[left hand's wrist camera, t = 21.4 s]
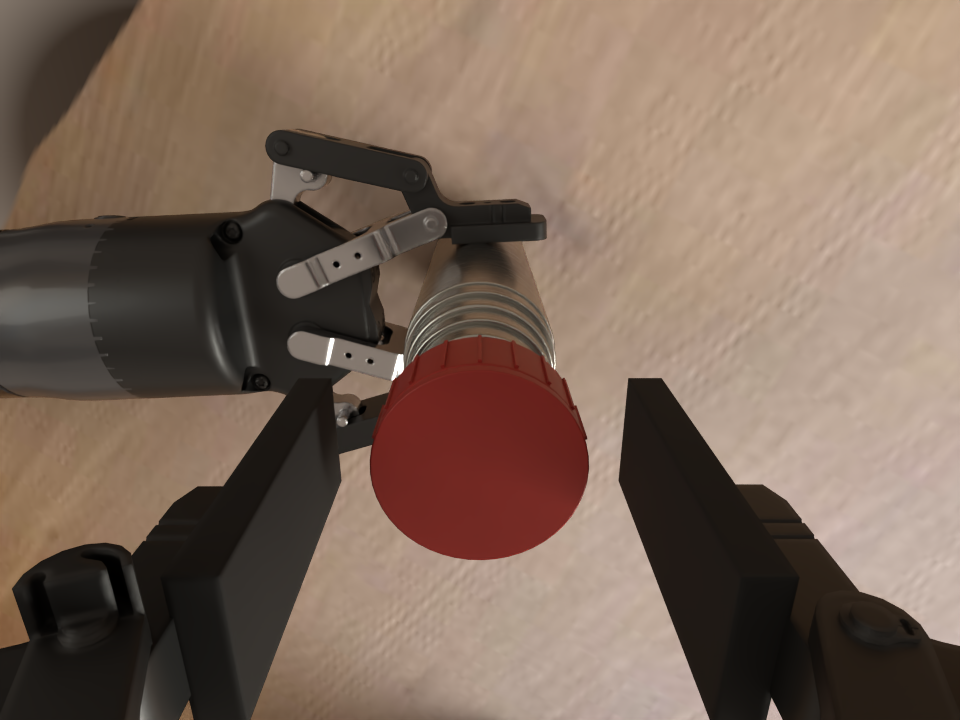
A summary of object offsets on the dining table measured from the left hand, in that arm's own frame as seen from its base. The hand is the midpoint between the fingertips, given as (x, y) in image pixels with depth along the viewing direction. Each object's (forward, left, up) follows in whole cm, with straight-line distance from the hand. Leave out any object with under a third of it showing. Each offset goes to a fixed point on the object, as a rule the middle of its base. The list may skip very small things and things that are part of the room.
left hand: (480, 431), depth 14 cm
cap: (0, 0, +1) cm, 1 cm away
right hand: (-2, +2, -12) cm, 12 cm away
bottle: (0, 0, -19) cm, 19 cm away
